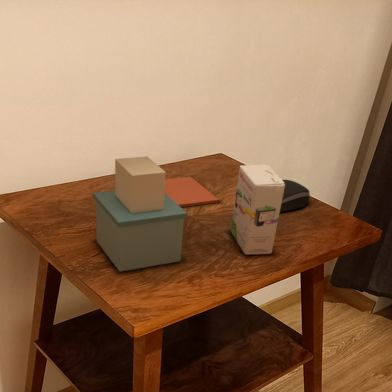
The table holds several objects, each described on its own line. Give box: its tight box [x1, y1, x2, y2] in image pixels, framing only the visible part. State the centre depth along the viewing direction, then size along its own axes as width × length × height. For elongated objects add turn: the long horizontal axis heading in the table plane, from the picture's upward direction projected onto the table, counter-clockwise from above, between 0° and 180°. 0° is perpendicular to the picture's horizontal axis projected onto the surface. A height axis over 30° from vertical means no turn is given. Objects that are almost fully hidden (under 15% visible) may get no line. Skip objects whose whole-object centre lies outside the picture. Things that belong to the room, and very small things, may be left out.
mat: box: [165, 176, 220, 208], centre depth 103 cm, size 12×12×1 cm
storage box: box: [92, 189, 188, 273], centre depth 81 cm, size 11×11×8 cm
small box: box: [114, 156, 167, 213], centre depth 77 cm, size 5×6×6 cm
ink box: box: [229, 163, 285, 256], centre depth 86 cm, size 8×5×12 cm, turn 14°
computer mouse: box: [280, 179, 311, 213], centre depth 103 cm, size 7×12×4 cm, turn 129°
